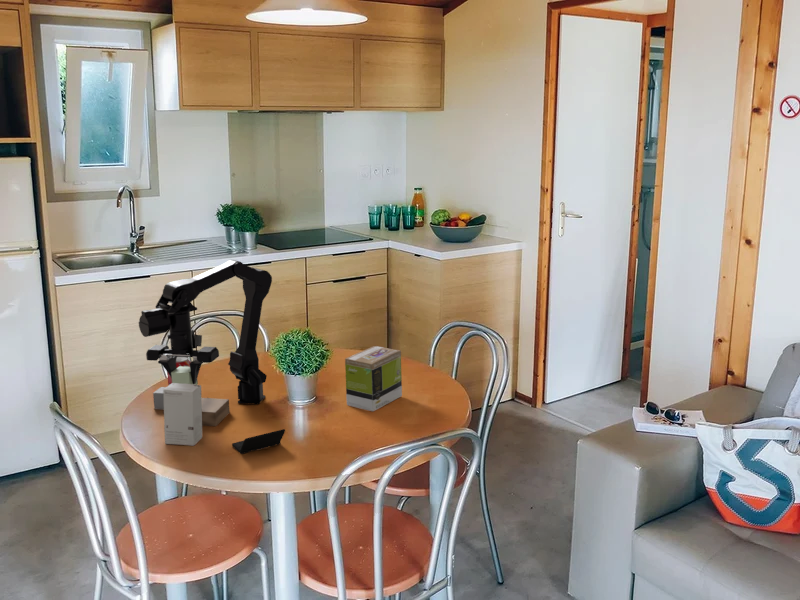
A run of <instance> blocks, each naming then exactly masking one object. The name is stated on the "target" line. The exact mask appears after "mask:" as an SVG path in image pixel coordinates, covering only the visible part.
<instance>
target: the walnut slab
mask: <svg viewBox="0 0 800 600" xmlns="http://www.w3.org/2000/svg"><path fill="white" fill-rule="evenodd" d="M201 400H202V426H206V427H217V426H218V425H219V424H220V423H221V422H222V421H223V420H224V419H225V418H226V417H227V416H228V415H229V414H230V413H231V412H230V411H231V410H230V399H229V398H215V397H214V398H213V397H201Z"/></svg>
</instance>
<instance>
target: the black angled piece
mask: <svg viewBox="0 0 800 600" xmlns="http://www.w3.org/2000/svg"><path fill="white" fill-rule="evenodd" d="M285 433H286V429H285V428H284V429H283V428H282V429H278V430H275V431H270V432H265V433H262V434H259V435H258V434H257V435H254V436H250V437H247V438H244V440H240V441H236V442H233V443H231V446H232V448H233V449H235V450H236V451H237V452H238V453H239V454H240V455H244V454H248V453H250V452H255V451H259V450H262V449H267V448H269V447H276V446H279V445H281V443H282V442H281V441H282V439H283V437H284V435H285Z"/></svg>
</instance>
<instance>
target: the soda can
mask: <svg viewBox="0 0 800 600" xmlns="http://www.w3.org/2000/svg"><path fill="white" fill-rule="evenodd" d="M191 362H192V361H191V360H190V357H177V359H176V368H178V367H179V366H184V367H190V363H191ZM166 372H167V371H166ZM166 374H167V386H169V385H170V384H171V383H172V378H171V377H170V375H169V373H168V372H167V373H166Z"/></svg>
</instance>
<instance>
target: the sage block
mask: <svg viewBox="0 0 800 600" xmlns="http://www.w3.org/2000/svg"><path fill="white" fill-rule="evenodd" d="M171 375H172V383H181V384H193V382H192V377H191V370H190V367H184V366H179V367H178V368H176V369H175V370H174V371H172V372H171ZM193 385H199V380H198V379H197V381H196V383H195V384H193Z"/></svg>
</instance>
